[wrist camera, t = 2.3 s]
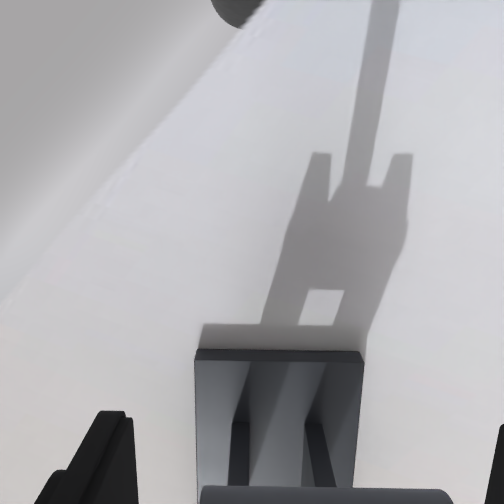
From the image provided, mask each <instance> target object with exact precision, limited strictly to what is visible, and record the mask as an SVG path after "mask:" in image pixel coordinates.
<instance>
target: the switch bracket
mask: <svg viewBox="0 0 504 504" xmlns="http://www.w3.org/2000/svg"><path fill="white" fill-rule="evenodd" d="M194 370H195V416H196V461H197V504H199V501H200V495H201V490H202V488H203V486H205V485H216V486H276V487H336V488H352V485H353V475H354V464H355V454H356V444H357V434H358V423H359V413H360V403H361V392H362V382H363V372H364V361H363V359H362V357H361V355H360V353H359V352H345V351H286V350H226V349H197V352H196V355H195V359H194Z"/></svg>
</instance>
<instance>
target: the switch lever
mask: <svg viewBox="0 0 504 504" xmlns="http://www.w3.org/2000/svg"><path fill="white" fill-rule="evenodd" d="M199 504H453V502H452V500H451V498H450V497H449V495H448V494H447V493H446V492H444V491H443V490H440V489H396V488H336V487H276V486H216V485H205V486H203V488H202V490H201V495H200V501H199Z"/></svg>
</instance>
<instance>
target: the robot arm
mask: <svg viewBox="0 0 504 504" xmlns="http://www.w3.org/2000/svg"><path fill="white" fill-rule="evenodd" d="M34 504H139V502H138V487H137V472H136V457H135V442H134V427H133V419H132V418H128V417H126V415H125V412H124V411H100V412H99V413H98V414H97V416H96V418H95V419H94V421H93V423H92V425H91V427H90V428H89V430H88V432H87V434H86V436H85V437H84V439H83V441H82V443H81V445H80V446H79V448H78V450H77V452H76V454H75V455H74V457H73V459H72V461H71V463H70V464H69V466H68V468H67V470H56V471H55V472H53V474H52V475H51V476H50V478H49V479H48V481H47V483H46V484H45V486H44V488H43V489H42V491H41V493H40V495H39V496H38V498H37V500H36V501H35V503H34ZM485 504H504V424H502V425H501V426H500V429H499V434H498V439H497V444H496V449H495V454H494V459H493V464H492V469H491V474H490V479H489V484H488V489H487V494H486V499H485Z"/></svg>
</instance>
